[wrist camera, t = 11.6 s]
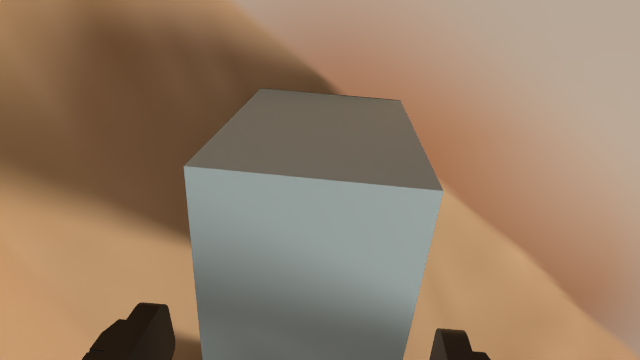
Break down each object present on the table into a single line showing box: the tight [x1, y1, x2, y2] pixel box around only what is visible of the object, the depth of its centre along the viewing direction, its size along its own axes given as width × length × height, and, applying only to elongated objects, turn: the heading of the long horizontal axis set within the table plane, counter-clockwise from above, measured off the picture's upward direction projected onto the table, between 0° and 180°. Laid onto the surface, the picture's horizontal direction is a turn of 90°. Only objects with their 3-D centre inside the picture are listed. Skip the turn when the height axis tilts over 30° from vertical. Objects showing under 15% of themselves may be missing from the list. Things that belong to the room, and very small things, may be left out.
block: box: [184, 88, 443, 360], centre depth 12 cm, size 5×8×7 cm, turn 176°
